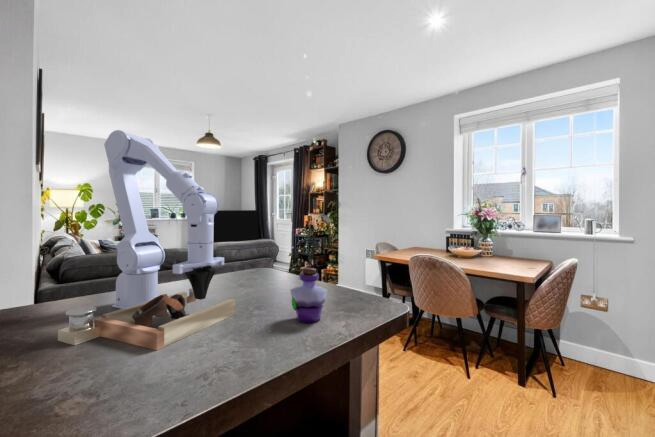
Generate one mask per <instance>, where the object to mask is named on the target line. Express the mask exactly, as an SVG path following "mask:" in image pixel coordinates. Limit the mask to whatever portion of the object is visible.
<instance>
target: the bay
mask: <svg viewBox="0 0 655 437" xmlns="http://www.w3.org/2000/svg"><path fill="white" fill-rule="evenodd" d="M176 294H179V295H182V296H183V298H184V299H185V307H187V305H188V303H187V297H188V296H187V295H188V292H186V291H181V292H177V293H173V294H170V295H167V296H168V297H169V298H170V297H171V296H173V295H176ZM236 301H237V300H236V299H235V298H230V299H229V298H228V299H227V300H225V301H222V302H219V303H217V304H214V305H211V306H208V307H206V308H203V309H201V310H198V311H196V312H193V313H190V314H188V315H187V314H186V316H185V317H182V318H179V319H173V320H172V321H169V322H167V323H163V324H161V325H159V326H158V328H156V327H155V328H154V327H150V326H147V325H146V326H141V325H136V324H135V320H134V319H133V318H132V316H133V314H134V313H135V312H136V311H139V314H141V313H142V311H141V309H140V308H141V307H142V306H143V305H145V304H146V303H148V302H149V301H148V302H145V303H141V304H138V305H134V306H131V307H127V308H124V309H120V308H119V309H117V310H114V311H111V312H108V313H106V312H105V313H104V314H102V315H101V317H98V318H93V323H94V325H98V326H101V336H100V337H101V338H102V337H103V338H106V339H110V340H115V341H119V342H122V343H127V344H130V345H133V346H138V347H142V348H146V349H150V350H154V351H159V350H160V349H163V348H165V347H168V346H170V345H172V344H174V343H176V342H178V341H180V340H182V339H184V338H186V337H189V336H191V335H193V334H196V333H198V332H200V331H201V330H205V329H207V328H208V327H211V326H212V325H215V324H218V323H219V322H221V321H223V320H225V319H228V318H231V317H233V316H235V315H236V311H237V310H236V309H237V308H236V307H237V305H236V303H237V302H236ZM167 312H168V313H169V311H168V309H167ZM153 318H157V317H156V316H154V315H153Z"/></svg>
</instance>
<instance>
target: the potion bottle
mask: <svg viewBox="0 0 655 437" xmlns="http://www.w3.org/2000/svg"><path fill="white" fill-rule="evenodd" d="M301 271H302V272H300V273H299V280H301V281H302V285H299V286H295V287H294V288H291V289H290V295H291V306H292V310H294V311H295V315H296V321H297V322H298V324H299V323H300V324H305V325H306V324H307V325H310V324H316V323H317V324H318V322H320V320H321V315H322V312H323V311H322V310H323V307H324V304H325V303H326V298H327V294H328V289H326V288H324V287H322V286H319V285H316V282H317V281H318V280H319V279H320V274H319V273H317V269H316V268H314V267H302V270H301Z"/></svg>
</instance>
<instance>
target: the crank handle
mask: <svg viewBox="0 0 655 437" xmlns="http://www.w3.org/2000/svg"><path fill="white" fill-rule="evenodd" d="M196 301H197V299H195V296H194V292H193V289H192V287H191V288H189V289H188V296H187V304H190V303H193V302H196Z"/></svg>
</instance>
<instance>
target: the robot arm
mask: <svg viewBox="0 0 655 437" xmlns="http://www.w3.org/2000/svg"><path fill="white" fill-rule="evenodd" d="M103 144H104V148H105V153H106V158H107V162H108V173H109V178H110V181H111V186H112V190H113V194H114V198H115V202H116V207H117V211H118V215H119V219H120V223H121V227H122V231H123V235H124V237H123V238H122V239H121V240H120V241H119V242H118V243H117V244H116V252H117V254H116V255H117V256H116V264H117V266H118V268H119V269H120V271H122V272H121V273H119V275H118V276H117V277H116V281H115V303H114V304H112V305H111V307H112V308H115V309H119V310H120V309H124V308H127V307H131V306H134V305H138V304H141V303H145V302H148V301H151V300H152V299H154V298H156V297H158V296H159V295H158V290H159V288H158V287H159V286H158V284H159V280H158V279H159V277H158V276H159V270H160V269H161V265H162V264H164V261H165V258H166V253H165V250H164V248H163V247H162V246H161V244H160V242H159V238H158V237H157V236H155V235H154V234H153V233H152V232H150V230H149V226H148V221H147V218H146V213H145V210H144V206H143V202H142V197H141V195H140V190H139V187H138V182H137V177H136V174H137V173H138V172H140V171H141V170H142V169H144V168H145V167H146V166H147V165H148V166H149V165H150V166H151V168H152V169H154V170H155V171H156V172H157V173H158V174H159V175H160V176H162V177H163V178H164V179H165V180H166V181H165V185H166V186H165V187H166V188H167V189H168V190H169V191H170V192H171V194H173V195H174V196H175V197H176V198H177V199H178V201H179V202H180V203H182V205H181V206H182V209H183V212H184V214H185V216H186V222H187V226H188V227H187V228H188V230H187V260H186V261H183V262H179V263H177V264H175V263H174V264H172V274H174V275H182V274H183V273H184V274H185V276H186V277H187V279H188V281H189V283H190V285H191V288H192V289H193V292H194V296H195V299H196V300H200V301H201V300H204V299H206V297H207V294H208V291H209V290H208V289H209V287H210V284H211V281H212V279H213V277H214V276H215V274H216V271H217V270H216V266H224V265H225V257H224V256H223V257H222V256H216V257H214V232H215V231H214V226H215V225H214V224H215V221H214V220H215V219H214V218H215V215H217V213H218V211H219V206H220V204H219V200H218V198H217V197H216V196H215V194H213V193H209V192H206V191H205V188H204V187H203V186H200V185H199V184H198V183H197V182H196V181H195V180H194V179H193V175H192V174H191V173H190V172H186V171H182V170H181V171H179V170H177V169H176V167H175V166H174V165H173V164H172V163H171V162H170V161H169V160H168V158H167V157H166V156H165V155H164V154H163V152H161V150H160V146H158V144H156V143H155V142H154V140H151V139H150V138H148V137H147V138H145V137H142V136H138V135H135V134H133V133H132V134H131V133H129V132H125V131H124V130H120V129H116V130H114V131H111V133H110V134H108V136H107V138H106V141H105V142H104V143H103Z"/></svg>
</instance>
